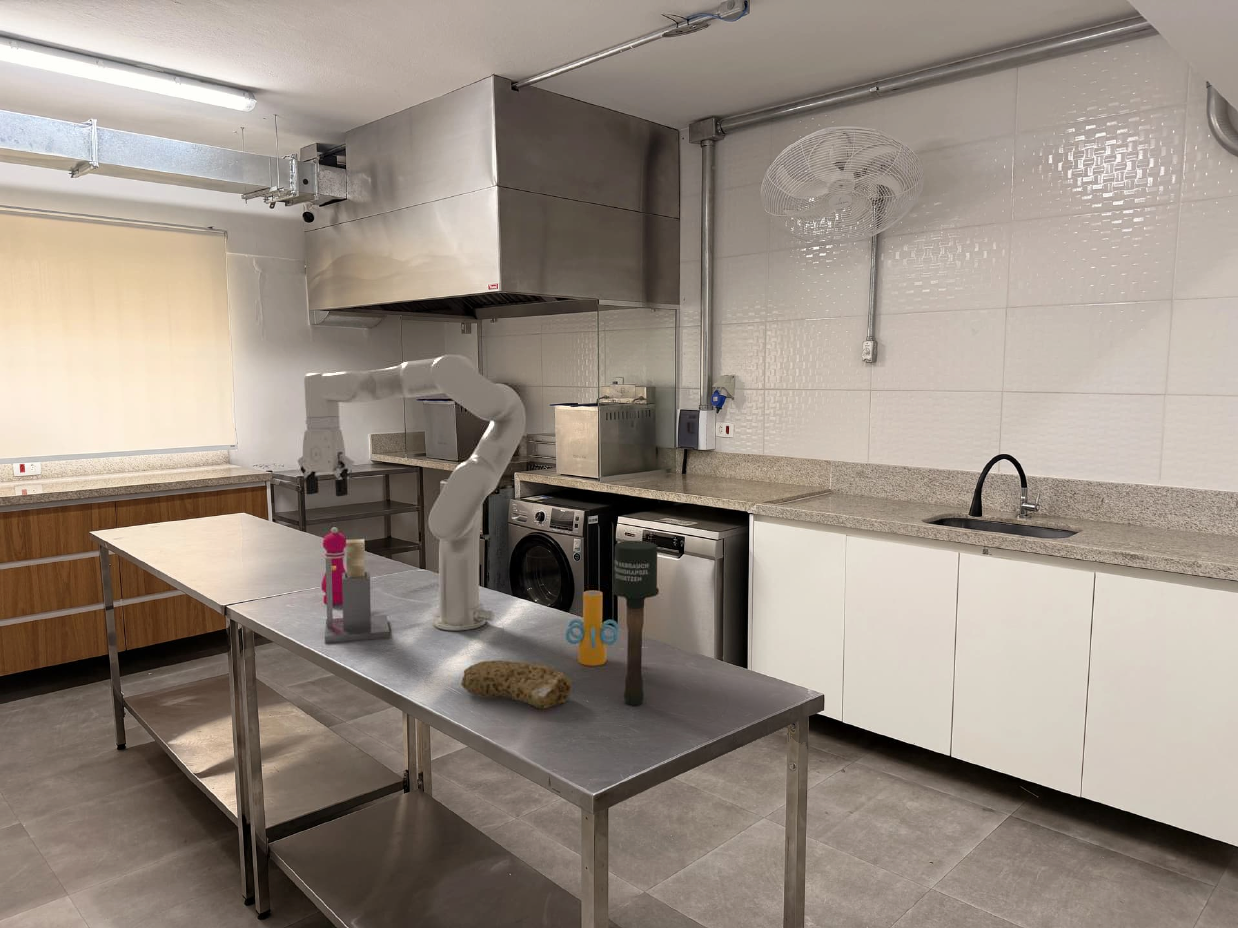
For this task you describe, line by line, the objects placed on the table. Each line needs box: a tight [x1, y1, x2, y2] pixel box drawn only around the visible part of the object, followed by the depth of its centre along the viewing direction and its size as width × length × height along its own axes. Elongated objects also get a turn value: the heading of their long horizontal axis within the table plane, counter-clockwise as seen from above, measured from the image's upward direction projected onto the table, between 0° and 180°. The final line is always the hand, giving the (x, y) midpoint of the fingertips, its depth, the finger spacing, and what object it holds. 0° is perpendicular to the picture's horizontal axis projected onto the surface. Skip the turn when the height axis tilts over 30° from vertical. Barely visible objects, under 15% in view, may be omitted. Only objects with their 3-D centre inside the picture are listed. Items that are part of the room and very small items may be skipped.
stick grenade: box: [611, 540, 660, 706], centre depth 153 cm, size 8×9×30 cm
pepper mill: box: [320, 526, 347, 605], centre depth 219 cm, size 7×7×20 cm
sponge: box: [460, 660, 573, 709], centre depth 156 cm, size 13×8×20 cm
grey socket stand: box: [324, 557, 390, 644], centre depth 194 cm, size 14×14×18 cm
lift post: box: [345, 538, 366, 578], centre depth 194 cm, size 4×4×20 cm
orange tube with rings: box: [565, 590, 619, 667], centre depth 175 cm, size 12×10×15 cm
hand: (327, 494), depth 201 cm, fingers open, 9 cm apart
